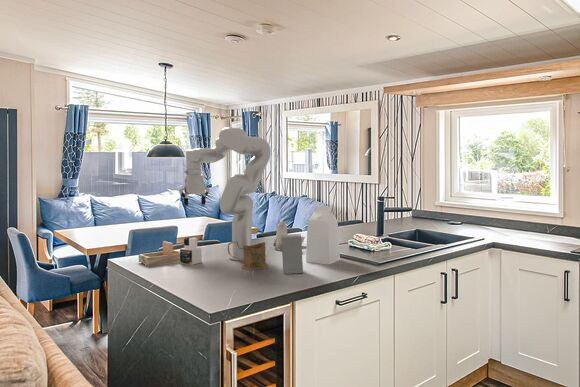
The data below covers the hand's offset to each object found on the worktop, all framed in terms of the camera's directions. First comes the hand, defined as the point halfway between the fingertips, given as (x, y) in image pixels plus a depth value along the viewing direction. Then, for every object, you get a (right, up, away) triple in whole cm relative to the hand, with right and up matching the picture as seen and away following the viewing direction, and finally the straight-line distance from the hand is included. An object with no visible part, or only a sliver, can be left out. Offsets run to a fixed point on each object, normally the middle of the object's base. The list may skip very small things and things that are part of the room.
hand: (195, 205), depth 237 cm
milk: (+66, -26, -28) cm, 76 cm away
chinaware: (+49, -25, +7) cm, 55 cm away
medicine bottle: (+4, -27, -28) cm, 39 cm away
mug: (+32, -27, -40) cm, 58 cm away
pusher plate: (-8, -25, -23) cm, 35 cm away
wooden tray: (-10, -27, -24) cm, 38 cm away
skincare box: (+51, -27, -51) cm, 78 cm away
